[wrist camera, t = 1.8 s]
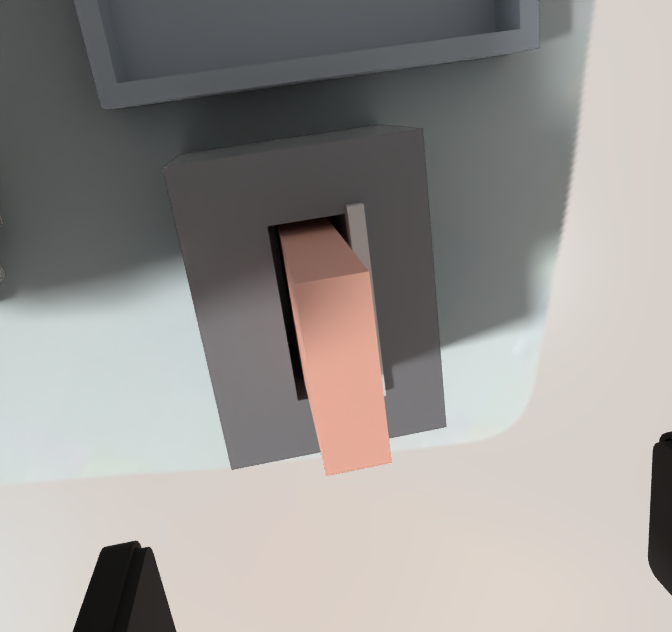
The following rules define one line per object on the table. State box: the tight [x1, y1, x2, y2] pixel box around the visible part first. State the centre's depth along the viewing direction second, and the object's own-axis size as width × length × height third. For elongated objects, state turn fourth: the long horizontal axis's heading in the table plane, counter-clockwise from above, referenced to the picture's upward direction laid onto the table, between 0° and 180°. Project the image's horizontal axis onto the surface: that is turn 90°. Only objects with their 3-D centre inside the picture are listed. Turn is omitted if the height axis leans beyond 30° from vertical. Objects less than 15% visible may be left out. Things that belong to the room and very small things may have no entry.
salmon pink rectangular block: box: [275, 217, 392, 476], centre depth 22 cm, size 6×2×12 cm, turn 8°
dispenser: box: [162, 125, 446, 470], centre depth 25 cm, size 12×9×7 cm
